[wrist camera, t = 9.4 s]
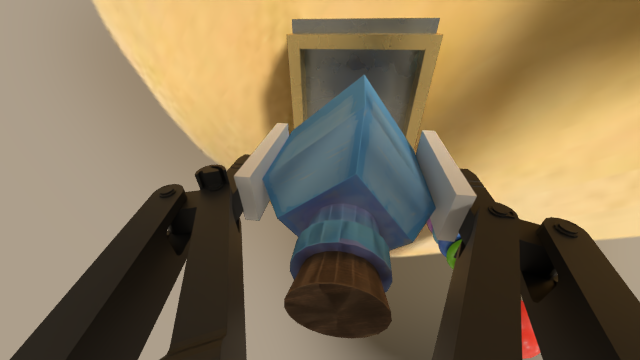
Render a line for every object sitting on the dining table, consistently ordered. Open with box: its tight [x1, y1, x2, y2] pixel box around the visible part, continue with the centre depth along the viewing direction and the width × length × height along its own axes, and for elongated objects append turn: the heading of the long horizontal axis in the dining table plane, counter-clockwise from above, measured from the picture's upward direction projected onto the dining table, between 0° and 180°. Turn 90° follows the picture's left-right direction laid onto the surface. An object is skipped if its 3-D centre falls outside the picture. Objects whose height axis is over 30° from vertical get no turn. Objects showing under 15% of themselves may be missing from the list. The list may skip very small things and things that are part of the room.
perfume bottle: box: [262, 75, 436, 338], centre depth 12 cm, size 6×6×12 cm
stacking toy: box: [426, 218, 540, 359], centre depth 27 cm, size 8×8×19 cm
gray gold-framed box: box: [287, 18, 443, 150], centre depth 25 cm, size 18×12×7 cm, turn 0°
